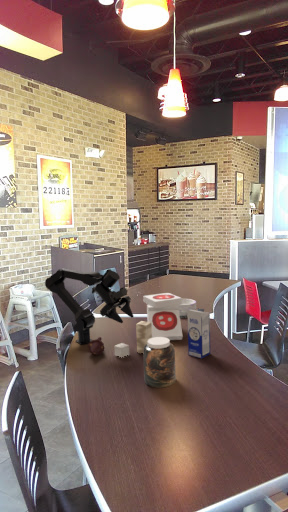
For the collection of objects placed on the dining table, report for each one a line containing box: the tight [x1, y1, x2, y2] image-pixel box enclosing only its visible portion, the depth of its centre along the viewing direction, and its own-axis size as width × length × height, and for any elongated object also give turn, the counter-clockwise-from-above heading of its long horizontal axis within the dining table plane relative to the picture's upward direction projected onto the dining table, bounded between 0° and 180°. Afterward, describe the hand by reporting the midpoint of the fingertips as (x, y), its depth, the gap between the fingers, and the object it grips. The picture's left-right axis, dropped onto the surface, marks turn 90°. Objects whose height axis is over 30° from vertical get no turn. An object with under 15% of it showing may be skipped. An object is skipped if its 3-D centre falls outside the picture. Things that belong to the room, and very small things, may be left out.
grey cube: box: [114, 342, 130, 359], centre depth 161 cm, size 4×4×4 cm
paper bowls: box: [178, 298, 197, 317], centre depth 223 cm, size 15×15×8 cm
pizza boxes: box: [142, 292, 184, 341], centre depth 186 cm, size 19×30×18 cm, turn 3°
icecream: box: [87, 336, 105, 356], centre depth 163 cm, size 7×7×15 cm
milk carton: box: [186, 308, 211, 359], centre depth 158 cm, size 7×7×20 cm
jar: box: [142, 337, 177, 389], centre depth 135 cm, size 12×12×15 cm
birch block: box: [135, 320, 152, 354], centre depth 164 cm, size 5×5×13 cm
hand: (127, 319), depth 167 cm, fingers open, 9 cm apart
